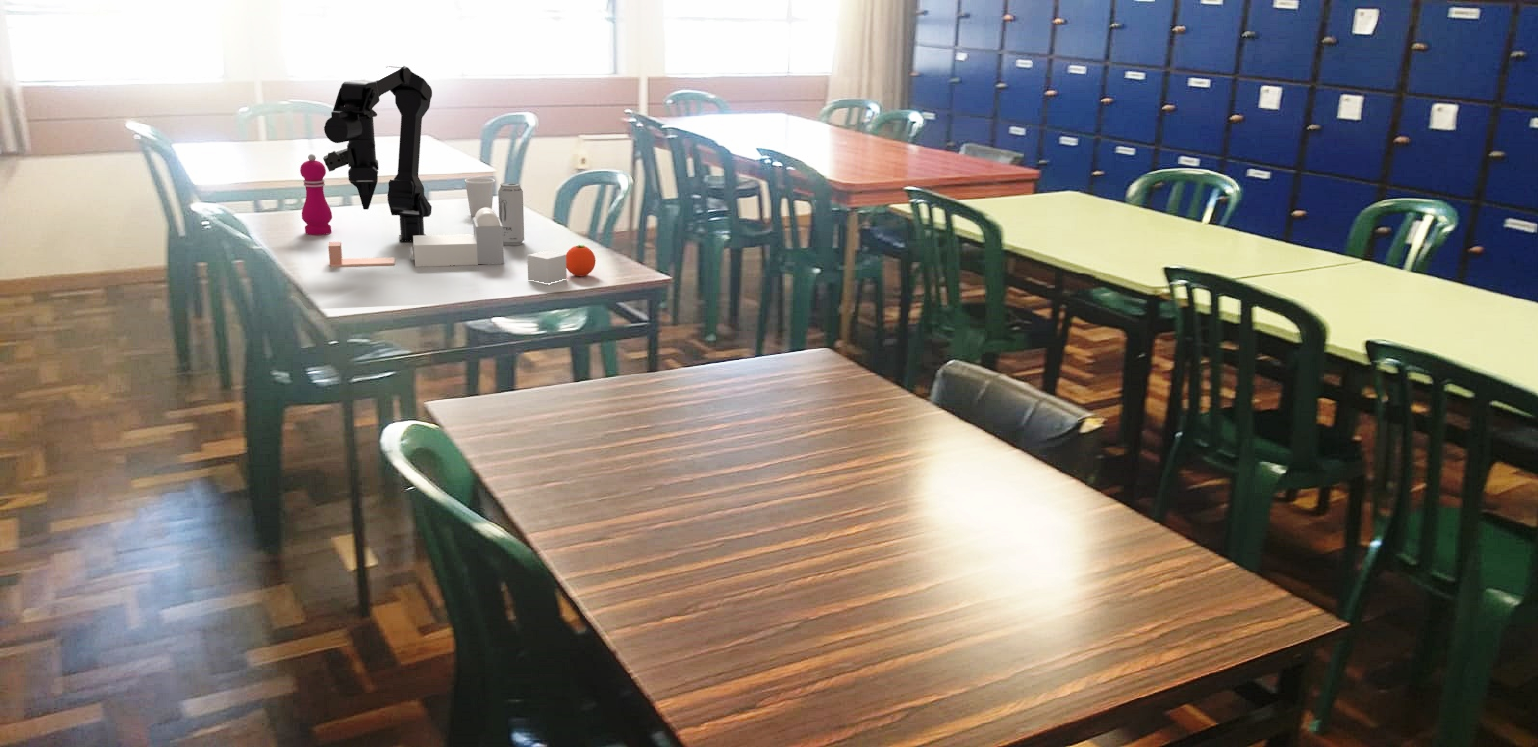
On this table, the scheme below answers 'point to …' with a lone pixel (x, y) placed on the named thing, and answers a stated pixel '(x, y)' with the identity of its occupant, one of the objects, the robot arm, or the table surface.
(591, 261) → the clementine
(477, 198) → the dixie cup
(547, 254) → the grey cube
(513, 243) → the energy drink can
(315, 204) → the pepper mill
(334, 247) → the l-shaped wooden bracket
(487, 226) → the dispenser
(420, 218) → the robot arm
